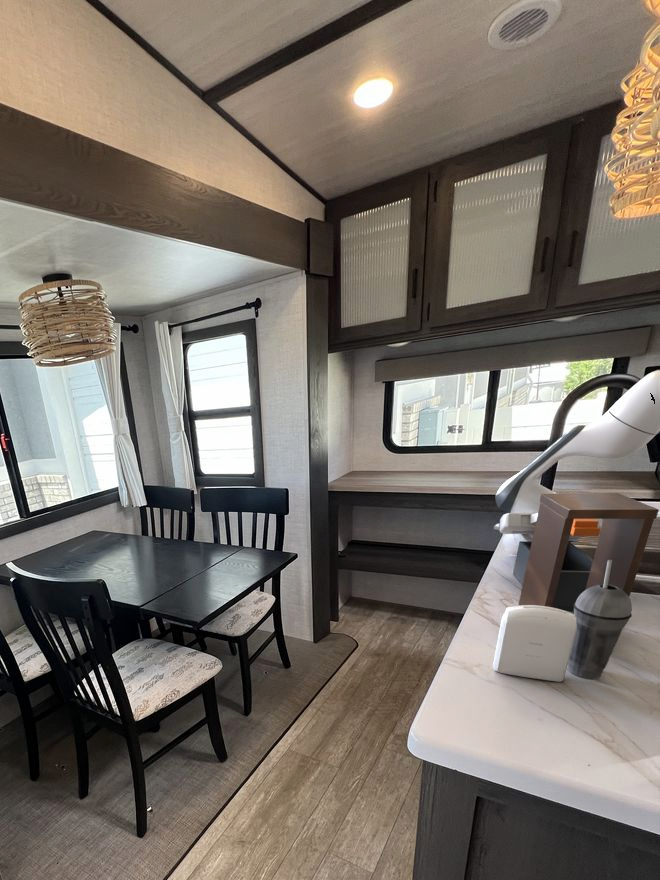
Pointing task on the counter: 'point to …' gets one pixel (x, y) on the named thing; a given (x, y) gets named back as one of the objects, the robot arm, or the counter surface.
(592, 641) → the beverage cup
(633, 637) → the counter surface
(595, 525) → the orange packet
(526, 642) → the photo printer
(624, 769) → the counter surface
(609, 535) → the shelf stand
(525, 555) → the trash bin
